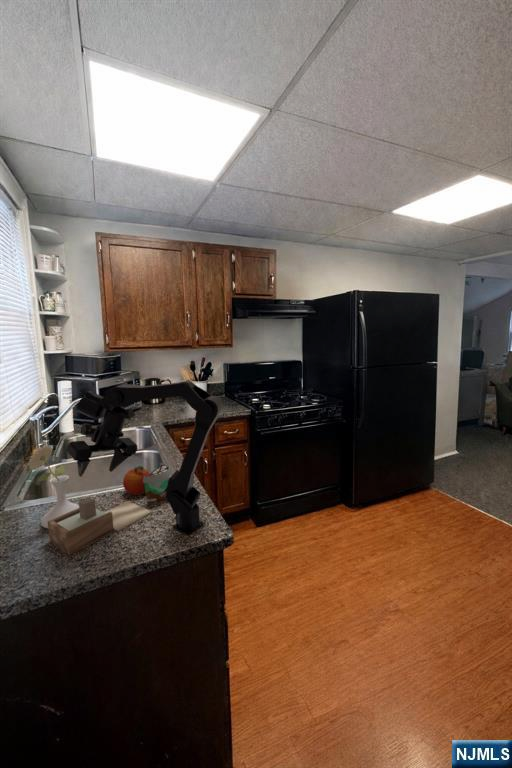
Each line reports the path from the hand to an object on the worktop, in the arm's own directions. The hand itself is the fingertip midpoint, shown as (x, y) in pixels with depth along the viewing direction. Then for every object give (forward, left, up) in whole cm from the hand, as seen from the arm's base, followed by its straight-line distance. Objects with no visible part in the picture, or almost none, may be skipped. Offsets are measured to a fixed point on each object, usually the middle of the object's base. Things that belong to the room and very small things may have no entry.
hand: (95, 473), depth 93 cm
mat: (-2, -6, -16) cm, 17 cm away
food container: (-3, -21, -16) cm, 26 cm away
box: (-2, +6, -16) cm, 17 cm away
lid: (-2, +6, -11) cm, 13 cm away
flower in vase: (+10, +6, -16) cm, 20 cm away
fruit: (+8, -19, -16) cm, 26 cm away
